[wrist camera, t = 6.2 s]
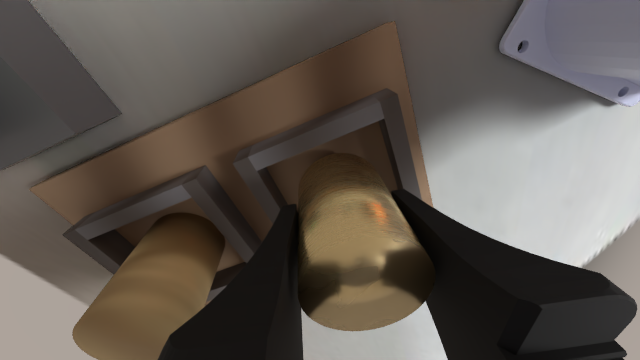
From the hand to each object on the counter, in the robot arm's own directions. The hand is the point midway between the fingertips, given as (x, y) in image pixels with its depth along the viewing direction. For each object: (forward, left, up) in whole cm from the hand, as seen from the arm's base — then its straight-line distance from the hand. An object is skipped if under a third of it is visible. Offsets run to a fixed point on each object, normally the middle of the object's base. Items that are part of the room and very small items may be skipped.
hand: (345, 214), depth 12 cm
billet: (0, 0, -2) cm, 2 cm away
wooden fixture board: (+4, +3, -4) cm, 6 cm away
